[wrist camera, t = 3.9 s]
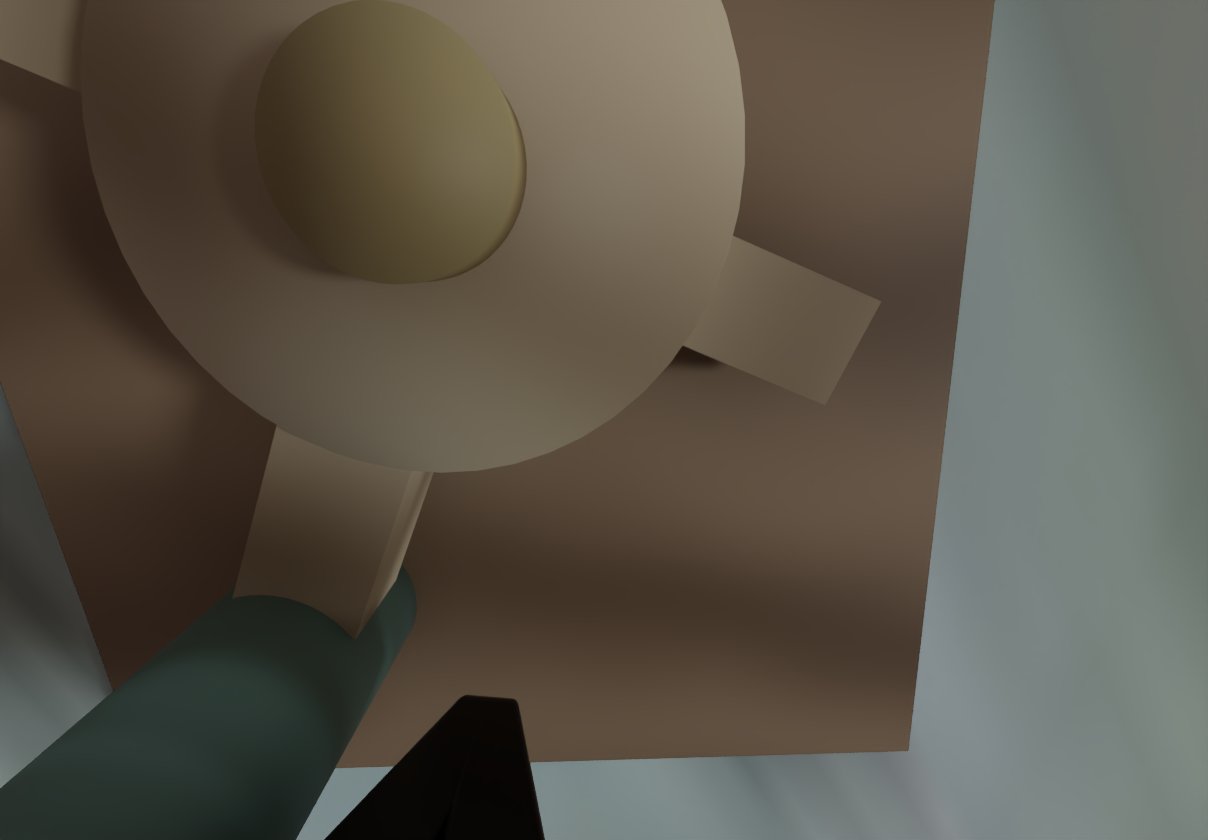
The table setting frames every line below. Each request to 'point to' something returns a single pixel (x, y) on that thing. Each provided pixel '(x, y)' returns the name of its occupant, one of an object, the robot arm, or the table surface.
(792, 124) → the stand
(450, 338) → the capstan
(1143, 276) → the table surface
